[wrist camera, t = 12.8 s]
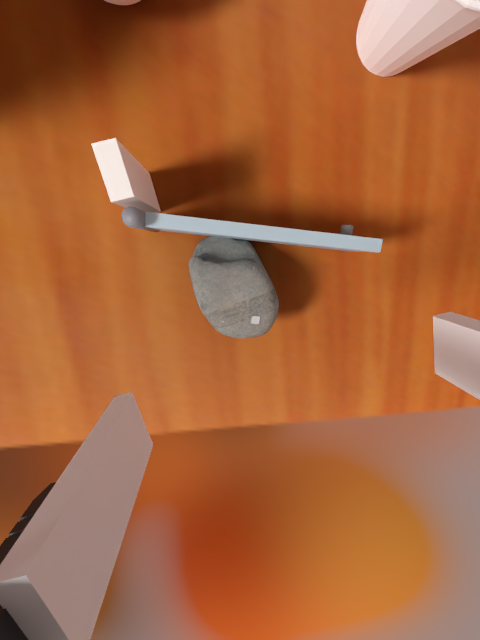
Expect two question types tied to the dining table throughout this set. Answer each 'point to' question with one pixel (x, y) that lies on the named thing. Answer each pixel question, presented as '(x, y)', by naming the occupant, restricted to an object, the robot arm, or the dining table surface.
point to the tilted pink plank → (125, 177)
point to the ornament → (122, 2)
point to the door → (250, 231)
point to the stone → (233, 287)
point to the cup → (411, 31)
